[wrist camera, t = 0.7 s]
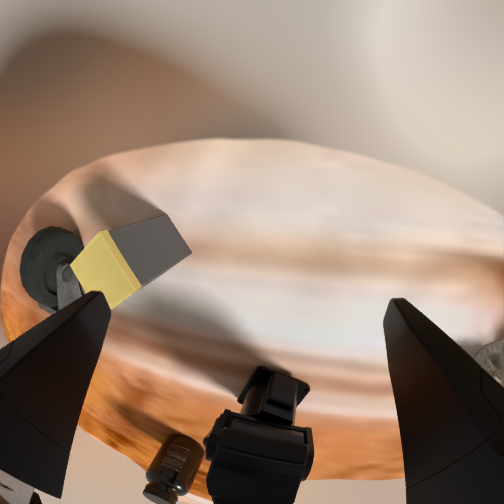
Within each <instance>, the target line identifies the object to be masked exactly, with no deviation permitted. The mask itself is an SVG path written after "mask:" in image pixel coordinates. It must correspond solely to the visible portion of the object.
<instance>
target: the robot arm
mask: <svg viewBox="0 0 504 504" xmlns="http://www.w3.org/2000/svg"><path fill="white" fill-rule="evenodd" d="M110 318H111V309H110V307H109V304H108V302H107V300H106V298H105V295H104V293H103V292H101V291H95V290H92V291H89V292H88V293H86V294H85V295H83V296H81V297H80V298H78V299H76V300H75V301H73V302H72V303H70V304H68V305H67V306H65V307H64V308H62V309H60V310H59V311H57V312H56V313H54V314H53V315H51V316H49V317H48V318H46V319H45V320H43V321H42V322H40V323H39V324H37V325H36V326H34V327H33V328H31V329H30V330H28V331H27V332H25V333H24V334H22V335H21V336H19V337H18V338H16V339H15V340H13V341H12V342H10V343H9V344H7V345H6V346H5V347H3V348H1V349H0V504H42V502H41V500H40V497H39V495H38V494H37V493H36V492H34V488H36V489H38V490H40V491H42V492H44V493H47V494H49V495H51V496H54V497H56V498H59V499H61V496H62V491H63V485H64V480H65V474H66V469H67V465H68V459H69V455H70V453H69V452H70V450H71V446H72V442H73V438H74V434H75V431H76V427H77V423H78V420H79V416H80V413H81V410H82V406H83V403H84V400H85V397H86V393H87V390H88V387H89V384H90V381H91V378H92V375H93V373H94V370H95V367H96V364H97V361H98V359H99V356H100V353H101V349H102V346H103V342H104V338H105V335H106V331H107V328H108V324H109V321H110ZM383 327H384V334H385V342H386V350H387V359H388V367H389V373H390V378H391V383H392V388H393V393H394V398H395V404H396V410H397V416H398V422H399V428H400V435H401V443H402V451H403V460H404V470H405V482H406V503H407V504H504V387H503V386H502V385H501V384H500V383H499V382H497V381H496V380H495V379H494V378H493V377H492V376H491V375H490V374H489V373H488V372H487V371H486V370H485V369H484V368H481V365H480V364H479V363H477V362H476V361H475V360H474V359H473V358H472V357H471V356H470V355H469V354H468V353H467V352H466V351H465V350H464V349H462V348H461V347H460V346H459V345H458V344H457V343H456V342H455V341H454V340H453V339H451V338H450V337H449V336H448V335H447V334H446V333H445V332H444V331H442V330H441V329H440V328H439V327H438V326H437V325H436V324H434V323H433V322H432V321H431V320H430V319H429V318H427V317H426V316H425V315H424V314H423V313H422V312H420V311H419V310H418V309H417V308H416V307H414V306H413V305H412V304H411V303H410V302H408V301H407V300H406V299H404V298H392V299H391V300H390V302H389V304H388V307H387V310H386V313H385V316H384V320H383ZM259 370H261V371H259ZM304 388H306V389H304ZM309 391H310V386H309V385H307V384H304V383H302V382H299V381H296V380H294V379H291V378H289V377H286V376H284V375H282V374H279V373H277V372H274V371H272V370H269V369H267V368H265V367H262V366H258V367H256V369H255V371H254V372H253V374H252V376H251V377H250V379H249V381H248V382H247V384H246V386H245V387H244V389H243V390H242V392H241V394H240V395H239V397H238V399H237V401H238V403H240V404H243V406H242V409H241V412H240V414H239V413H235V412H231V410H228V409H225V411H224V413H223V414H221V415H220V417H219V418H217V419H216V421H215V424H214V426H213V428H212V430H211V431H210V432H209V433H208V434H207V435H206V436H205V438H204V440H203V444H204V446H205V448H206V457H205V460H207V461H210V462H211V465H210V468H209V471H208V474H207V478H206V482H207V488H208V492H209V495H211V497H212V500H213V503H214V504H293V503H294V501H295V497H296V494H297V491H298V488H299V485H300V482H301V481H305V480H306V478H307V477H308V475H309V473H310V470H311V467H312V463H313V458H314V445H313V437H312V429H311V428H310V427H306V428H304V427H298V426H294V422H295V414H296V407H297V406H298V405H299V404H300V402H301V401H302V400H303V399H304V397H305V396H306V395H307V394H308V392H309Z"/></svg>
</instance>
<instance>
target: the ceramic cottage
mask: <svg viewBox="0 0 504 504" xmlns="http://www.w3.org/2000/svg"><path fill="white" fill-rule="evenodd" d="M473 359H474V360H475V361H476V362H477V363H479V364H480V365H481V368H484V369H485V370H486V371H487V372H488V373H489V374H490V375H491V376H492V377H493V378H494V379H495V380H496V381H497V382H499V383H500V384H501V385H502V386H503V387H504V339H502V340H500V341H497V342H493V343H491V344H489V345H487V346H485V347H484V348H483V349H482V350H480V351H479V352H478V354H476V355H475V357H473Z"/></svg>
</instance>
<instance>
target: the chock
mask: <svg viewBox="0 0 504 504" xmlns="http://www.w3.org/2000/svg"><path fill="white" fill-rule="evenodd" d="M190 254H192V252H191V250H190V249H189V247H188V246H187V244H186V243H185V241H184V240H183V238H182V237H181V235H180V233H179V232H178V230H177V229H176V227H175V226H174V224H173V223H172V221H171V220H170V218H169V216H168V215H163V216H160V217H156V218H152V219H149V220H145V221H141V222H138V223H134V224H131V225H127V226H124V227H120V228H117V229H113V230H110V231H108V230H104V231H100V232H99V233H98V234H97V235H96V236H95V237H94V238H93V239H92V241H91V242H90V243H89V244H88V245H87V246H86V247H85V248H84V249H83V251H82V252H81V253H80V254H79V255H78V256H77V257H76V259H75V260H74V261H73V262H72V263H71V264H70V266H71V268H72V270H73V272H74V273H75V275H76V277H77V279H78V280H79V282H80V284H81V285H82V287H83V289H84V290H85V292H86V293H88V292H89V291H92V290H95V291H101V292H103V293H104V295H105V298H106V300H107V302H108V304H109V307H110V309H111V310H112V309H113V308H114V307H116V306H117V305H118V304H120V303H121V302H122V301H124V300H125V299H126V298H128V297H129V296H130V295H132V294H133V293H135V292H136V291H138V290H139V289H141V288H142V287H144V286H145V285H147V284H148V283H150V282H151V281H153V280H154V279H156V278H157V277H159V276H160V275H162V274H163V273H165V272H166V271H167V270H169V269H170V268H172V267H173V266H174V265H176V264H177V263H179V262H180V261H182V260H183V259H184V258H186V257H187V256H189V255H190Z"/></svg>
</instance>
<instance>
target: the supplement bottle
mask: <svg viewBox="0 0 504 504" xmlns="http://www.w3.org/2000/svg"><path fill="white" fill-rule="evenodd" d="M203 458H204V450H203V448H202V447H201V446H200V445H199V444H198V443H197V442H195V441H193V440H192V439H190V438H187V437H185V436H181V435H170V436H168V437H167V438H166V439H165V440H164V442H163V444H162V445H161V447H160V449H159V451H158V452H157V454H156V456H155V458H154V459H153V461H152V463H151V464H150V466H149V468H148V470H147V471H146V479H147V481H148V482H149V484H147V485H146V486H145V489H144V491H143V495H144V496H145V497H146V498H148V499H149V500H151V501H152V502H154V503H156V504H176V502H177V501H178V497H177V496H183V495H186V494H187V493H188V492H189V490H190V488H191V486H192V483H193V481H194V479H195V477H196V474H197V472H198V470H199V467H200V465H201V463H202V460H203Z"/></svg>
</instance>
